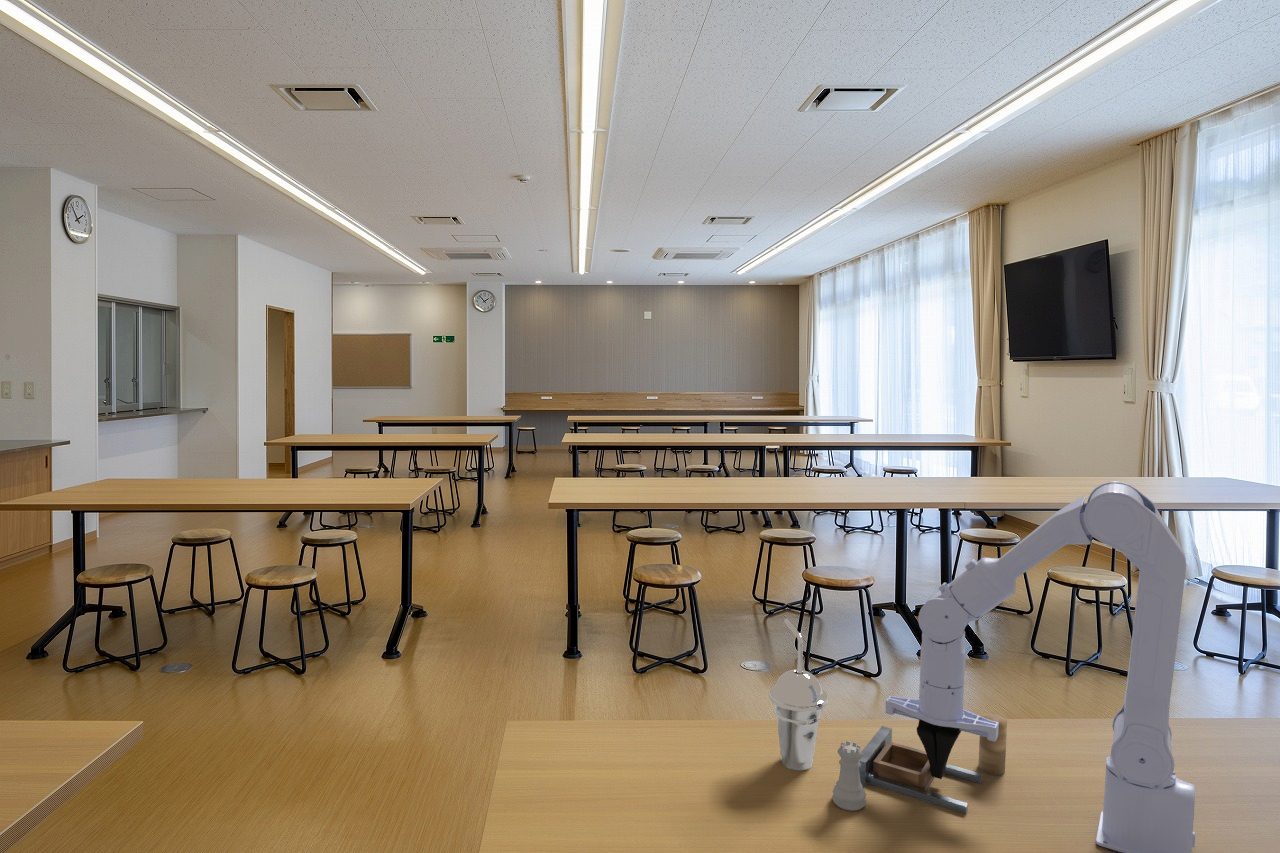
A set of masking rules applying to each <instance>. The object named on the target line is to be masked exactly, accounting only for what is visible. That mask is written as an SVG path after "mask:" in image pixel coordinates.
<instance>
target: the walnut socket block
mask: <svg viewBox="0 0 1280 853" xmlns="http://www.w3.org/2000/svg"><path fill="white" fill-rule="evenodd" d="M873 774H874V775H877V776H881V777H884V778H887V779H890V780H894V781H897V782H900V783H903V784H907V785H910V786H913V787H916V788H920V789H923V790H926V791H928V788H929V786H931V784H932V782H933V780H934V778H935V777H932V776H931V769H930V764H929V760H928V757H927V754H926V751H925V750H921V749H917V748H914V747H911V746H907V745H904V744H900V743H896V742H893V741H892V742H890V741H888V743H887V744H886V745H885V747H884V748H883V749H882V751H881V752H880V753H879V755H878V756H877V757H876V759H875V760H874V761H873Z"/></svg>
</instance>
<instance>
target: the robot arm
mask: <svg viewBox="0 0 1280 853" xmlns="http://www.w3.org/2000/svg"><path fill="white" fill-rule="evenodd" d="M1086 496H1087V494H1084V495H1082V496H1080V497H1078V498H1076V499H1074V500H1073V501H1072V502H1071V503H1069V504H1067V505H1065V506H1064V507H1062V508H1060V509H1059V510H1058V511H1056V512H1055V513H1054V514H1052V515H1051V516H1050V517H1048V518H1047V519H1046V520H1045V521H1044V522H1043V523H1042V524H1040V525H1039V526H1038V527H1036V528H1035V529H1034V530H1033V531H1031V532H1030V533H1029V534H1028V535H1026V536H1025V537H1024V538H1023V539H1021V540H1020V541H1019V542H1018V543H1017V544H1016V545H1015V546H1013V547H1011V549H1009V550H1008V551H1007V552H1005V553H1004V554H1003V555H1002V556H1001V557H999V558H995V557H981V558H980V559H978V561H977V560H976V559H975V558H972V559H971V560H970V561H968V562H967V563H966V565H964V567H965V571H963V572H962V573H961V574H959V575H958V576H957V577H956V578H955V579H952V581H950V582H948V583H947V582H943V583H942V584H940V585H939V587H938V591H937V592H934V593H933V594H932V595H930V597H928V599H927V600H926V602H925V603H924V604H923V605H922V606H921V608H920V610H919V612H918V617H917V622H918V625H919V628H920V630H921V644H920V661H919V663H920V664H919V686H918V688H919V689H918V692H919V693H918V694H919V695H918V699H915V698H908V697H907V698H906V697H899V696H894V695H889V696H888V698H886V699H885V714H887V715H892V716H893V715H894V714H896V715H899V716H903V717H907V718H911V719H915V720H918V723H917V725H918V726H916V733H917V734H916V735H917V736H918V738H919V740H920V741H921V743H922V745H923V748H924V751H925V752H926V754H927V757H928V760H929V764H930V769H931V776H932V777H934V778H935V779H939V780H942V779H943V778H944V775H945V768H946V764H948V761H949V760H948V759H949V757H950V754H951V751H952V749H953V747H954V746H955V743H956V741H957V740H958V738H959V736H960V734H961V732H965V733H968V734H972V735H976V736H979V737H980V736H984V737H987V739H988V740H990V741H994V742H995V741H996V740H997V737H998V730H999V722H995V721H992V720H989V719H986V718H983V717H981V715H978V714H976V713H973V712H972V711H968V710H966V709H964V702H965V701H964V700H965V699H964V696H965V675H966V674H965V672H966V648H965V646H966V645H965V642H966V641H965V640H966V631H965V629H966V627H967V626H968V624H969V623H970V622H975V621H978V620H980V618H982V617H983V616H985V615H986V614H988V613H989V612H991V610H993V609H994V608H996V607H997V606H999V605H1000V604H1002V603H1003V602H1004V601H1006V600H1007V599H1009V598H1010V597H1011V596H1012V595H1014V594H1015V593H1016V583H1017V582H1016V581H1017V578H1019V577H1021V576H1022V575H1024V574H1025V573H1026V572H1027V571H1029V570H1031V569H1032V568H1034V567H1035V566H1036V565H1038V564H1040V563H1041V562H1042V561H1044V560H1045V559H1047V558H1048V557H1050V556H1052V555H1053V554H1055V553H1056V552H1057V551H1058V550H1060V549H1061V548H1063V547H1065V546H1068V545H1081V546H1082V545H1091V543H1092V541H1093V538H1094V539H1096V540H1097V541H1099V542H1101V543H1102V544H1105V545H1106V546H1108V547H1111V548H1112V549H1115V550H1117V551H1119V552H1121V554H1122V555H1124V557H1125V558H1126V559H1127V560H1128V561H1130V563H1132V564H1133V565H1134V566H1135V567H1136V568H1137V569H1138V570H1139V572H1138V573H1139V574H1138V581H1137V590H1136V597H1135V598H1136V599H1135V609H1134V617H1133V625H1132V635H1131V644H1130V653H1129V661H1128V668H1127V677H1126V678H1127V679H1126V686H1125V692H1124V700H1123V704H1122V706H1121V708H1120V709H1119V710H1118V711H1117V712H1116V713H1115V714H1114V716H1113V719H1112V730H1113V731H1112V732H1113V735H1112V736H1113V737H1112V738H1113V739H1112V744H1111V750H1110V755H1108V756H1107V757H1106V759H1105V774H1104V792H1103V803H1102V804H1103V805H1102V806H1103V807H1102V810H1101V811H1100V816H1099V820H1098V825H1097V826H1098V827H1097V830H1096V836H1095V837H1096V839H1095V844H1096V845H1098V846H1100V847H1103V848H1107V849H1109V850H1112V851H1115V852H1118V853H1192V848H1193V849H1195V845H1196V832H1195V831H1194V820H1195V805H1196V804H1195V802H1196V799H1195V798H1196V787H1195V785H1194V784H1193V783H1189V782H1188V781H1185V780H1182V779H1180V778H1178V777H1177V776H1176V772H1175V765H1176V764H1175V759H1174V756H1173V750H1172V748H1173V747H1172V735H1173V734H1172V729H1171V726H1170V705H1171V704H1170V703H1171V696H1172V695H1171V693H1172V687H1173V678H1174V673H1175V672H1174V670H1175V664H1176V663H1175V661H1176V654H1177V646H1178V645H1177V644H1178V638H1179V629H1180V621H1181V613H1182V612H1181V611H1182V604H1183V598H1184V597H1183V595H1184V587H1185V582H1186V581H1185V580H1186V579H1185V578H1186V573H1187V572H1186V570H1187V559H1186V555H1185V551H1184V549H1183V548H1182V546H1181V545H1180V543H1179V542H1178V540H1177V538H1176V537H1175V536H1174V534H1173V533H1172V531H1171V529H1170V527H1169V526H1168V525H1167V523H1166V522H1165V520H1164V518H1163V517H1162V515H1161V514H1160V512H1159V510H1158V508H1157V506H1156V505H1155V502H1153V501H1152V500H1151V499H1150V498H1149V497H1148V496H1146V495H1145V494H1143V493H1142V492H1141V491H1140V490H1139V489H1137V488H1135V487H1134V486H1133V485H1132V484H1128V483H1126V482H1123V481H1109V482H1108V481H1107V482H1104V483H1101V484H1100V485H1099V484H1098V485H1097V486H1096V487H1095V488H1094V489H1093V490H1091V493H1090V494H1089V496H1088V498H1087V501H1086ZM1085 501H1086V502H1085Z"/></svg>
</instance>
